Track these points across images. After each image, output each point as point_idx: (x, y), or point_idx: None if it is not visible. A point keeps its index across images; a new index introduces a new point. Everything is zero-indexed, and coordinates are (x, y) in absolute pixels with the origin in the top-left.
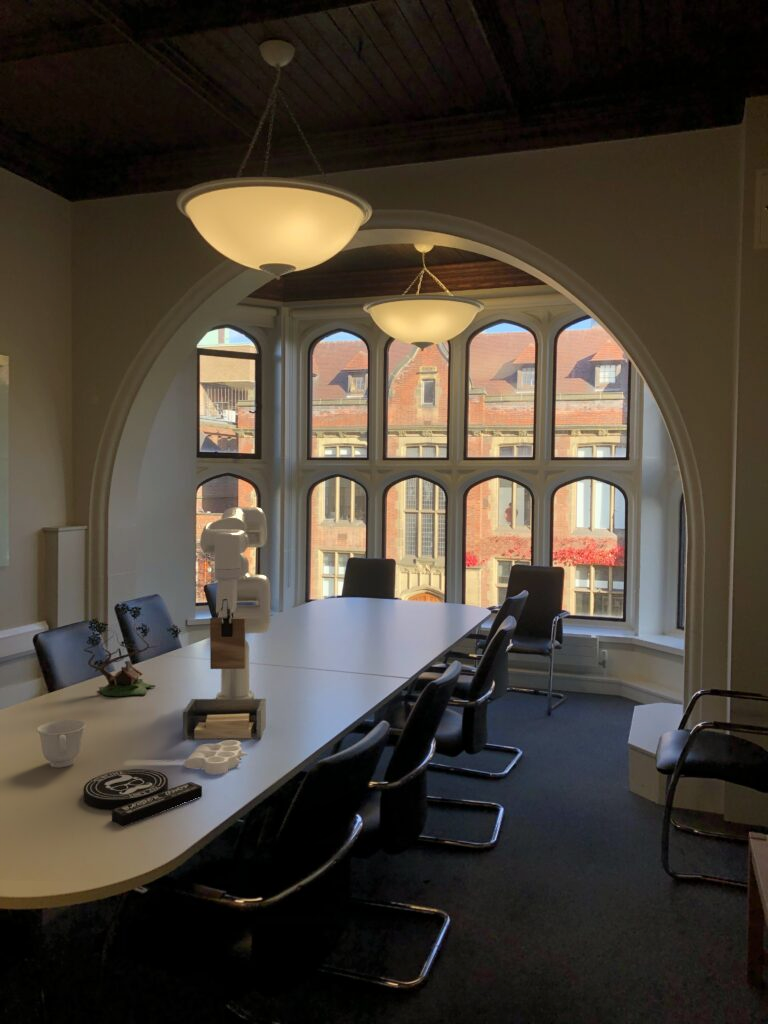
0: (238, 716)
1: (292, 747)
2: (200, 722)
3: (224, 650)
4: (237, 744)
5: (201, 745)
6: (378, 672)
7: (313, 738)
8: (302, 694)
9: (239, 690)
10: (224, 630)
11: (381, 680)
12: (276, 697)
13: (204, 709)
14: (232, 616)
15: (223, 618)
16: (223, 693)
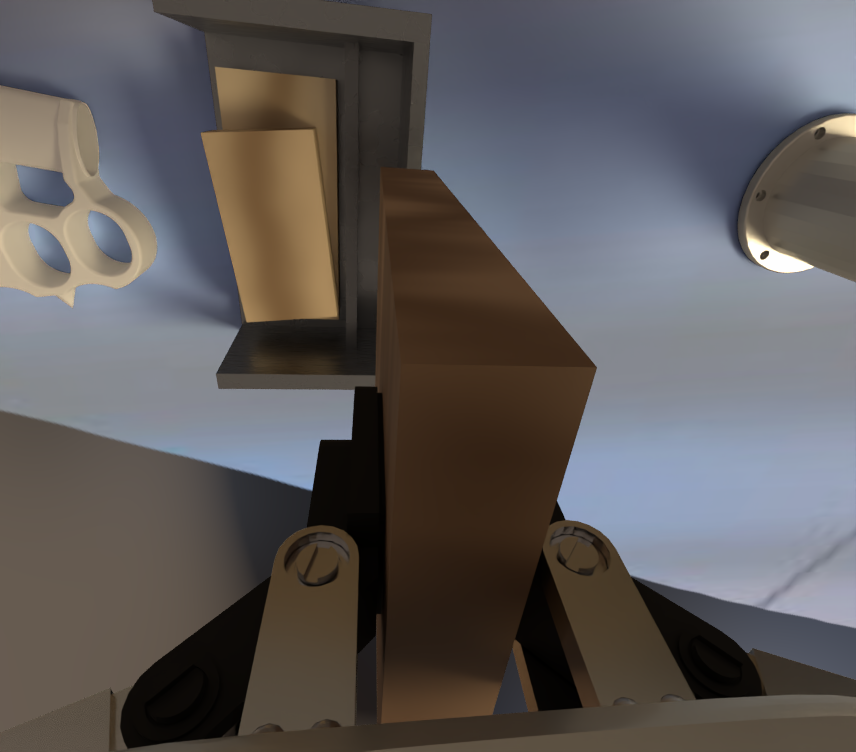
0: (294, 278)
1: (218, 417)
2: (330, 88)
3: (379, 331)
4: (91, 278)
5: (56, 124)
6: (839, 562)
7: (304, 461)
8: (733, 414)
9: (784, 228)
10: (317, 474)
11: (766, 569)
12: (736, 343)
13: (406, 102)
14: (530, 696)
15: (14, 737)
16: (818, 151)
